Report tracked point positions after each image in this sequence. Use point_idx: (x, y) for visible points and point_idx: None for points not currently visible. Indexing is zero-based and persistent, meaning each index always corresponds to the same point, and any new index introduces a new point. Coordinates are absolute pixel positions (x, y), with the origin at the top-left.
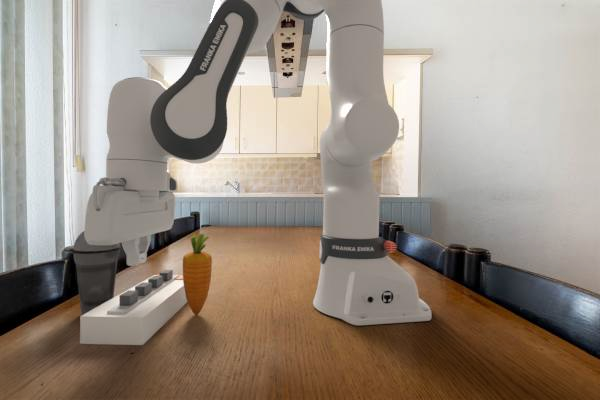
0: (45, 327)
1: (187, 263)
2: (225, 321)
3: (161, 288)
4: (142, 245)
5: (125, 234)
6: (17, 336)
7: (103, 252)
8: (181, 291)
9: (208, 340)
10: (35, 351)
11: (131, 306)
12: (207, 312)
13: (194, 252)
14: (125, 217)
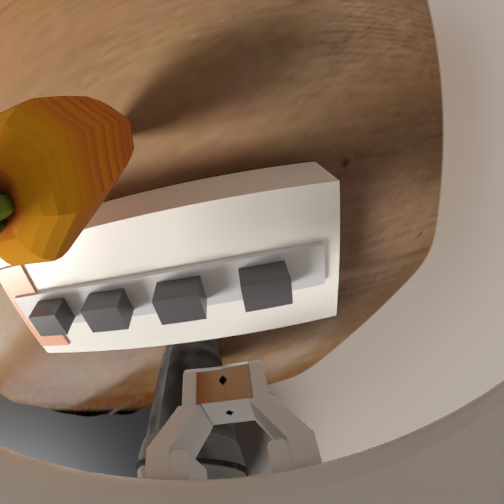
0: (266, 364)
1: (93, 194)
2: (143, 30)
3: (109, 279)
4: (190, 439)
5: (470, 436)
6: (299, 367)
7: (219, 460)
8: None
9: (265, 22)
10: (342, 315)
11: (287, 253)
12: None
13: (4, 222)
14: (495, 502)
